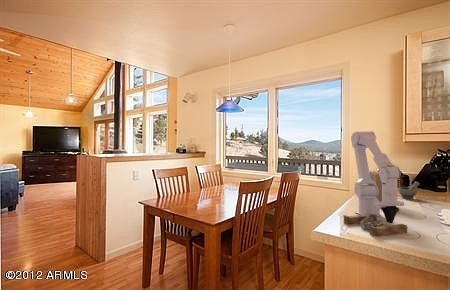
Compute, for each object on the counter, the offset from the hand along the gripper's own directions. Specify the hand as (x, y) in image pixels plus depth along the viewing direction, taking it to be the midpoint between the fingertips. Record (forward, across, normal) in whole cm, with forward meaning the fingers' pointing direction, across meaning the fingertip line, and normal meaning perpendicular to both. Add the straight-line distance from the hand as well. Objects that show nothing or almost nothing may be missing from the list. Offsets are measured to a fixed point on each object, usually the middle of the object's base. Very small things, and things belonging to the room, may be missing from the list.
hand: (389, 222), depth 104 cm
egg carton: (+2, -10, 0) cm, 10 cm away
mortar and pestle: (+2, +58, +36) cm, 69 cm away
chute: (+1, -9, 0) cm, 9 cm away
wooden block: (+2, +26, +28) cm, 39 cm away
